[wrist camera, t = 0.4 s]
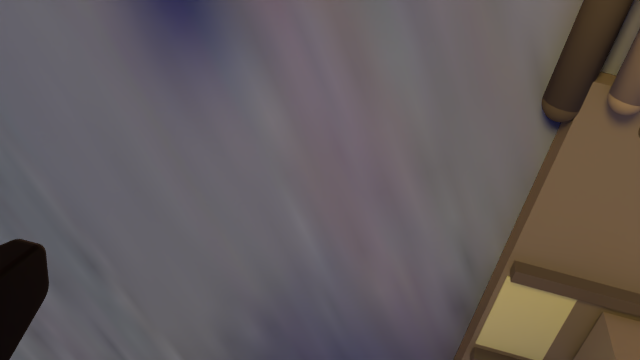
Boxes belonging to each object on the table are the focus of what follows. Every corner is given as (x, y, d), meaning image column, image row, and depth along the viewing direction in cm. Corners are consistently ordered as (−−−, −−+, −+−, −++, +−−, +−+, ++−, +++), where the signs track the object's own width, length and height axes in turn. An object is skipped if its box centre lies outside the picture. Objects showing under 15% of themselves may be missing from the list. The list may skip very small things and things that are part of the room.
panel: (620, 505, 29) (628, 539, 28) (414, 445, 30) (412, 475, 28) (926, 151, 18) (963, 180, 17) (586, 68, 19) (595, 89, 17)
